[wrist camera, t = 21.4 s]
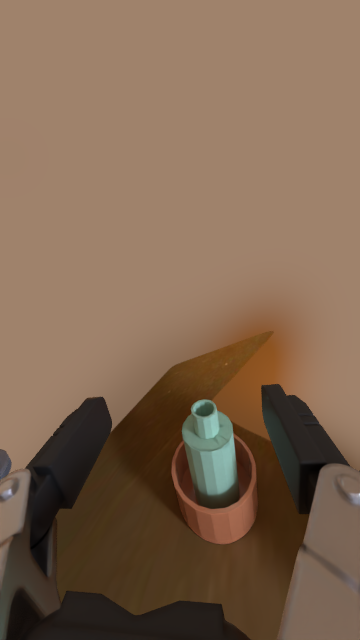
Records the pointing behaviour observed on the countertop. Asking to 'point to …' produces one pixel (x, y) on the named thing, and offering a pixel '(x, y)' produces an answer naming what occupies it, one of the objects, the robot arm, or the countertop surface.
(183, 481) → the terracotta bowl
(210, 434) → the bottle
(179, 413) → the countertop surface
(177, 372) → the countertop surface
